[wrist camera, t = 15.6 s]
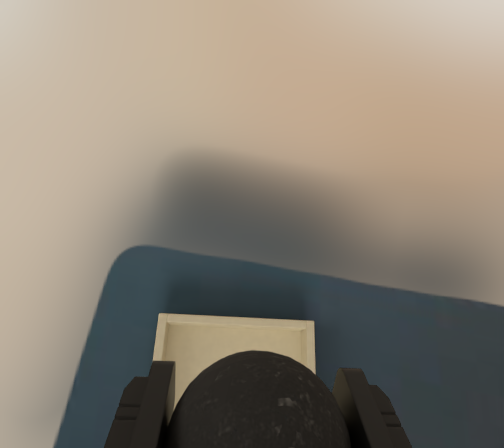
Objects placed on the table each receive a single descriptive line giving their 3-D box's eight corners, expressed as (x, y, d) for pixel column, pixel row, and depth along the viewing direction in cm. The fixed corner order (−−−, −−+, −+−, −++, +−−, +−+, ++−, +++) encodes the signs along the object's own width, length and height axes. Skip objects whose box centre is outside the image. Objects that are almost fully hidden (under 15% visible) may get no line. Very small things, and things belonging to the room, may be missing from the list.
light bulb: (198, 347, 19) (185, 323, 9) (304, 370, 19) (394, 369, 9) (167, 474, 16) (109, 608, 7) (287, 499, 16) (383, 663, 7)
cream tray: (140, 494, 23) (133, 506, 21) (163, 317, 27) (158, 312, 25) (310, 495, 24) (319, 508, 22) (306, 324, 28) (314, 320, 26)
